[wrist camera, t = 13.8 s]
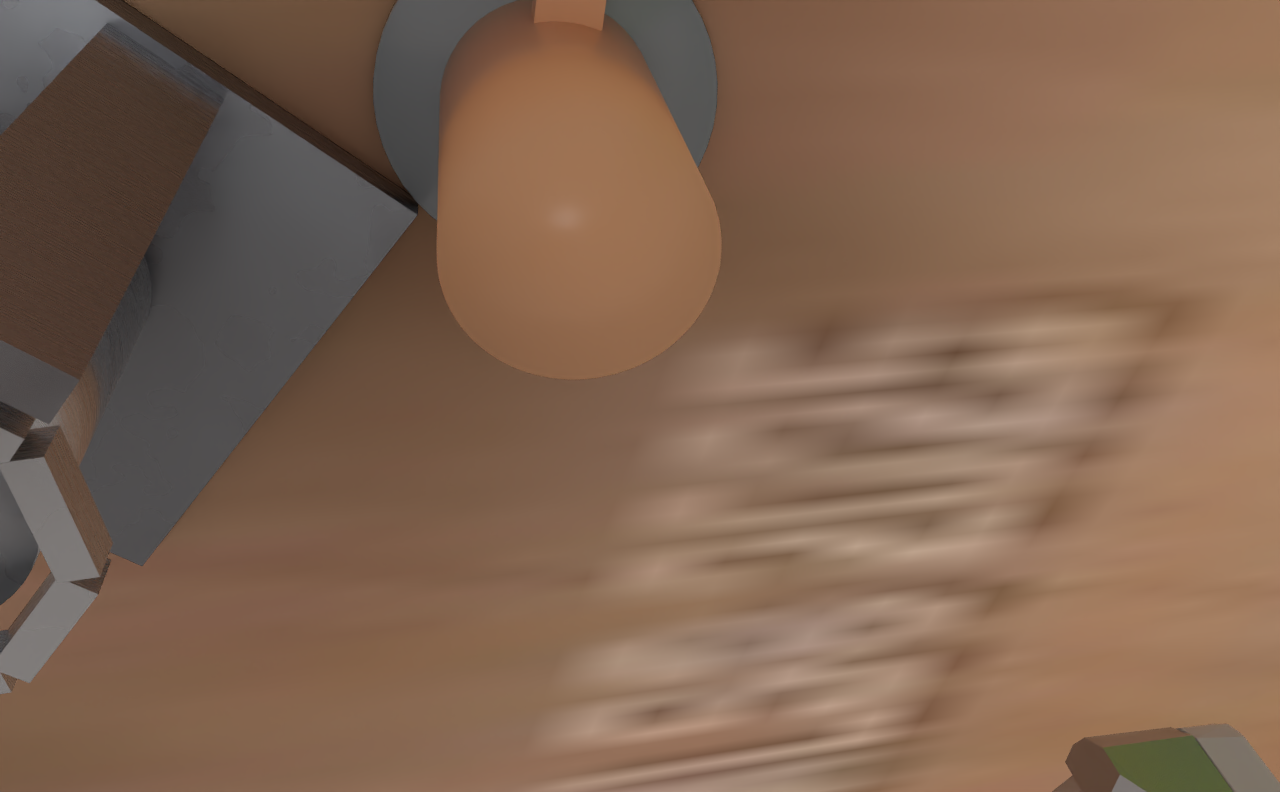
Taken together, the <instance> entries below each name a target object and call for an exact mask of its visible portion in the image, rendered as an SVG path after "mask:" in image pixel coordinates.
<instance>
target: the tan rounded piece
mask: <svg viewBox="0 0 1280 792" xmlns="http://www.w3.org/2000/svg"><path fill="white" fill-rule="evenodd" d="M605 6H606V0H517V1H514V2H511V3H508V4H506V5H503V6H501V7H499V8H497V9H495V10H493V11H491V12H490V13H488V14H487V15H485V16H484V17H483V18H481V19H480V20H478V21H477V22H476V23H475V24H474V25H473V26H472V27H471V28H470V29H469V30H468V31H467V32H466V33H465V34H464V36H463V37H462V38H461V39H460V41H459V42H458V43H457V45H456V47H455V48H454V50H453V52H452V53H451V55H450V58H449V60H448V62H447V65H446V67H445V70H444V74H443V78H442V82H441V89H440V109H439V158H438V207H437V269H438V276H439V282H440V285H441V288H442V292H443V295H444V298H445V300H446V302H447V304H448V306H449V309H450V311H451V313H452V314H453V316H454V317H455V319H456V320H457V322H458V323H459V325H460V326H461V328H462V329H463V330H464V331H465V332H466V333H467V335H468V336H469V337H470V338H471V339H472V340H473V341H474V342H475V343H476V344H478V345H479V346H480V347H481V348H482V349H483V350H484V351H486V352H487V353H489V354H490V355H492V356H493V357H495V358H496V359H498V360H499V361H501V362H503V363H505V364H507V365H509V366H511V367H513V368H516V369H519V370H521V371H524V372H527V373H530V374H534V375H538V376H542V377H547V378H555V379H564V380H583V379H592V378H600V377H605V376H609V375H614V374H617V373H620V372H623V371H626V370H629V369H632V368H634V367H637V366H639V365H641V364H643V363H645V362H647V361H649V360H651V359H652V358H654V357H656V356H657V355H659V354H661V353H662V352H664V351H665V350H666V349H667V348H669V347H670V346H671V345H673V344H674V343H675V342H676V341H677V340H678V339H679V338H680V337H681V336H682V335H683V334H684V333H685V332H686V331H687V330H688V329H689V328H690V327H691V326H692V324H693V323H694V322H695V321H696V319H697V318H698V317H699V315H700V314H701V312H702V311H703V309H704V307H705V306H706V304H707V302H708V300H709V298H710V296H711V293H712V291H713V289H714V287H715V283H716V280H717V276H718V273H719V269H720V262H721V255H722V235H721V228H720V221H719V217H718V214H717V210H716V207H715V204H714V201H713V199H712V197H711V195H710V193H709V190H708V188H707V186H706V184H705V182H704V180H703V178H702V176H701V174H700V172H699V170H698V168H697V166H696V164H695V162H694V160H693V158H692V156H691V153H690V151H689V149H688V147H687V145H686V143H685V141H684V139H683V137H682V135H681V133H680V131H679V129H678V127H677V125H676V123H675V121H674V119H673V117H672V115H671V113H670V111H669V108H668V106H667V104H666V102H665V100H664V98H663V96H662V94H661V92H660V90H659V88H658V86H657V84H656V82H655V80H654V78H653V76H652V74H651V72H650V70H649V68H648V66H647V63H646V61H645V59H644V57H643V55H642V53H641V51H640V50H639V48H638V47H637V45H636V43H635V42H634V40H633V39H632V38H631V37H630V35H629V34H628V33H627V32H626V31H625V29H624V28H622V27H621V26H620V25H619V24H618V23H617V22H616V21H615V20H614V19H612V18H611V17H609V16H608V15H606V14H605Z"/></svg>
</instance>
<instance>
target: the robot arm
mask: <svg viewBox="0 0 1280 792" xmlns="http://www.w3.org/2000/svg"><path fill="white" fill-rule="evenodd" d="M1065 763H1066V764H1067V766H1068V768H1069V770H1070V771H1071V773H1072V776H1071V777H1070V778H1069V779H1067V780H1066V781H1065V782H1064V783H1062V784H1061V785H1060V786H1059V787H1057V788H1056V789H1055V790H1054V791H1052V792H1280V783H1279V782H1278V780H1277V779H1276V778H1275V776H1274V775H1273V774H1272V773H1271V771H1270V770H1269V769H1268V767H1267V766H1266V765H1265V763H1264V762H1263V761H1262V759H1261V758H1260V757H1259V756H1258V754H1257V753H1256V752H1255V750H1254V749H1253V748H1252V746H1251V745H1250V744H1249V742H1248V741H1247V740H1246V739H1245V737H1244V736H1243V735H1242V734H1241V733H1240V732H1239V731H1237V730H1236V729H1234V728H1233V727H1231V726H1230V725H1228V724H1208V725H1200V726H1192V727H1184V728H1176V729H1174V728H1171V727H1169V728H1161V729H1152V730H1144V731H1135V732H1127V733H1119V734H1110V735H1102V736H1094V737H1085V738H1083V739H1081V740H1080V741H1078V742H1077V743H1075V744H1074V745H1073V746H1072V748H1071V750H1070V753H1069V755H1068V757H1067V759H1066V761H1065Z"/></svg>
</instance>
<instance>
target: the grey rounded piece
mask: <svg viewBox="0 0 1280 792" xmlns="http://www.w3.org/2000/svg"><path fill="white" fill-rule="evenodd" d="M514 1H517V0H396V2H395V3H394V5H393V7H392V9H391V11H390V14H389V16H388V18H387V21H386V23H385V25H384V28H383V31H382V35H381V39H380V42H379V46H378V50H377V55H376V62H375V70H374V77H373V102H374V109H375V116H376V123H377V127H378V131H379V134H380V138H381V141H382V145H383V147H384V150H385V152H386V154H387V157H388V159H389V161H390V163H391V166H392V167H393V169H394V171H395V172H396V174H397V176H398V177H399V179H400V181H401V182H402V184H403V185H404V187H405V188H406V189H407V191H408V192H409V193H410V194H411V196H412V197H413V198H414V199H415V201H416V202H417V203H418V204H419V205H420V206H421V207H422V208H423V209H424V210H425V211H426V212H427V213H428V214H429V215H430V216H432V217H433V218H434V219H435V220H437V207H438V158H439V109H440V89H441V82H442V78H443V74H444V70H445V67H446V65H447V62H448V60H449V58H450V55H451V53H452V52H453V50H454V48H455V47H456V45H457V43H458V42H459V41H460V39H461V38H462V37H463V36H464V34H465V33H466V32H467V31H468V30H469V29H470V28H471V27H472V26H473V25H474V24H475V23H476V22H477V21H478V20H480V19H481V18H483V17H484V16H485V15H487V14H488V13H490V12H491V11H493V10H495V9H497V8H499V7H501V6H503V5H506V4H508V3H511V2H514ZM605 14H606V15H608V16H609V17H611V18H612V19H614V20H615V21H616V22H617V23H618V24H619V25H620V26H621V27H622V28H624V29H625V31H626V32H627V33H628V34H629V35H630V37H631V38H632V39H633V40H634V42H635V43H636V45H637V47H638V48H639V50H640V51H641V53H642V55H643V57H644V59H645V61H646V63H647V66H648V68H649V70H650V72H651V74H652V76H653V78H654V80H655V82H656V84H657V86H658V88H659V90H660V92H661V94H662V96H663V98H664V100H665V102H666V104H667V106H668V108H669V111H670V113H671V115H672V117H673V119H674V121H675V123H676V125H677V127H678V129H679V131H680V133H681V135H682V137H683V139H684V141H685V143H686V145H687V147H688V149H689V151H690V153H691V156H692V158H693V160H694V162H695V164H696V166H697V168H698V166H699V164H700V162H701V160H702V158H703V155H704V153H705V151H706V148H707V146H708V143H709V139H710V136H711V132H712V129H713V125H714V119H715V113H716V107H717V74H716V64H715V58H714V54H713V50H712V46H711V41H710V38H709V36H708V33H707V30H706V28H705V25H704V23H703V20H702V18H701V16H700V14H699V12H698V11H697V9H696V7H695V5H694V3H693V1H692V0H606V6H605Z"/></svg>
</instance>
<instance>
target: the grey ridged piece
mask: <svg viewBox="0 0 1280 792" xmlns="http://www.w3.org/2000/svg"><path fill="white" fill-rule="evenodd" d="M417 215H418V203H417V202H416V201H415V199H414V198H413V197H412V196H411V195H410V194H409V193H407V192H406V191H404V190H403V189H401V188H400V187H398V186H397V185H395V184H394V183H392V182H391V181H389V180H388V179H386V178H385V177H383V176H382V175H380V174H379V173H377V172H376V171H374V170H373V169H371V168H370V167H369V166H367V165H366V164H364V163H363V162H361V161H360V160H358V159H357V158H355V157H354V156H352V155H351V154H349V153H348V152H346V151H345V150H343V149H342V148H340V147H339V146H337V145H336V144H334V143H333V142H331V141H330V140H328V139H327V138H325V137H324V136H322V135H321V134H320V133H318V132H317V131H315V130H314V129H312V128H311V127H309V126H308V125H306V124H305V123H303V122H302V121H300V120H299V119H297V118H296V117H294V116H293V115H291V114H290V113H288V112H287V111H285V110H284V109H282V108H281V107H279V106H278V105H276V104H275V103H274V102H272V101H271V100H269V99H268V98H266V97H265V96H263V95H262V94H260V93H259V92H257V91H256V90H254V89H253V88H251V87H250V86H248V85H247V84H245V83H244V82H242V81H241V80H239V79H238V78H236V77H235V76H233V75H232V74H230V73H229V72H227V71H226V70H225V69H223V68H222V67H220V66H219V65H217V64H216V63H214V62H213V61H211V60H210V59H208V58H207V57H205V56H204V55H202V54H201V53H199V52H198V51H196V50H195V49H193V48H192V47H190V46H189V45H187V44H186V43H184V42H183V41H181V40H180V39H178V38H177V37H176V36H174V35H173V34H171V33H170V32H168V31H167V30H165V29H164V28H162V27H161V26H159V25H158V24H156V23H155V22H153V21H152V20H150V19H149V18H147V17H146V16H144V15H143V14H141V13H140V12H138V11H137V10H135V9H134V8H132V7H131V6H130V5H128V4H127V3H125V2H124V1H122V0H0V605H1V604H2V603H4V602H5V601H6V600H7V599H8V598H10V597H11V596H12V595H13V594H14V593H15V592H16V591H17V590H18V589H19V587H20V586H21V585H22V584H23V583H24V581H25V580H26V578H27V576H28V575H29V573H30V571H31V570H32V568H33V565H34V563H35V561H36V559H37V557H38V555H39V552H40V550H41V552H42V554H43V556H44V558H45V560H46V562H47V564H48V566H49V568H50V570H51V573H50V574H49V575H48V577H47V578H46V579H45V581H44V582H43V583H42V585H41V586H40V587H39V589H38V590H37V591H36V593H35V594H34V595H33V597H32V598H31V600H30V601H29V602H28V604H27V605H26V606H25V608H24V609H23V610H22V612H21V613H20V614H19V616H18V617H17V618H16V620H15V621H14V622H13V624H12V625H11V626H10V628H9V629H8V630H3V631H0V694H4V693H10V692H12V690H13V688H14V685H15V683H16V680H17V679H20V680H23V681H25V682H28V683H30V682H31V681H32V679H33V678H34V677H35V676H36V674H37V673H38V672H39V670H40V669H41V668H42V666H43V665H44V664H45V663H46V661H47V660H48V659H49V657H50V656H51V655H52V654H53V652H54V651H55V650H56V648H57V647H58V646H59V644H60V643H61V642H62V641H63V639H64V638H65V637H66V635H67V634H68V633H69V632H70V630H71V629H72V628H73V626H74V625H75V624H76V623H77V621H78V620H79V619H80V617H81V616H82V615H83V613H84V612H85V611H86V610H87V608H88V607H89V606H90V604H91V603H92V602H93V601H94V599H95V598H96V597H97V595H98V594H99V591H100V588H101V586H102V583H103V580H104V578H105V575H106V573H107V570H108V567H109V565H110V562H111V560H110V559H108V558H107V557H108V555H109V552H111V553H113V554H116V555H118V556H120V557H122V558H125V559H127V560H129V561H132V562H134V563H136V564H138V565H141V566H143V564H144V563H145V562H146V561H147V559H148V558H149V557H150V555H151V554H152V553H153V552H154V550H155V549H156V548H157V547H158V545H159V544H160V543H161V541H162V540H163V539H164V538H165V536H166V535H167V534H168V532H169V531H170V530H171V529H172V527H173V526H174V525H175V524H176V522H177V521H178V520H179V518H180V517H181V516H182V515H183V513H184V512H185V511H186V510H187V508H188V507H189V506H190V504H191V503H192V502H193V501H194V499H195V498H196V497H197V496H198V494H199V493H200V492H201V490H202V489H203V488H204V487H205V485H206V484H207V483H208V481H209V480H210V479H211V478H212V476H213V475H214V474H215V473H216V471H217V470H218V469H219V467H220V466H221V465H222V464H223V462H224V461H225V460H226V459H227V457H228V456H229V455H230V453H231V452H232V451H233V450H234V448H235V447H236V446H237V444H238V443H239V442H240V441H241V439H242V438H243V437H244V436H245V434H246V433H247V432H248V430H249V429H250V428H251V427H252V425H253V424H254V423H255V422H256V420H257V419H258V418H259V416H260V415H261V414H262V413H263V411H264V410H265V409H266V408H267V406H268V405H269V404H270V402H271V401H272V400H273V399H274V397H275V396H276V395H277V393H278V392H279V391H280V390H281V388H282V387H283V386H284V385H285V383H286V382H287V381H288V379H289V378H290V377H291V376H292V374H293V373H294V372H295V371H296V369H297V368H298V367H299V365H300V364H301V363H302V362H303V360H304V359H305V358H306V357H307V355H308V354H309V353H310V351H311V350H312V349H313V348H314V346H315V345H316V344H317V342H318V341H319V340H320V339H321V337H322V336H323V335H324V334H325V332H326V331H327V330H328V328H329V327H330V326H331V325H332V323H333V322H334V321H335V320H336V318H337V317H338V316H339V314H340V313H341V312H342V311H343V309H344V308H345V307H346V305H347V304H348V303H349V302H350V300H351V299H352V298H353V297H354V295H355V294H356V293H357V291H358V290H359V289H360V288H361V286H362V285H363V284H364V283H365V281H366V280H367V279H368V277H369V276H370V275H371V274H372V272H373V271H374V270H375V269H376V267H377V266H378V265H379V263H380V262H381V261H382V260H383V258H384V257H385V256H386V254H387V253H388V252H389V251H390V249H391V248H392V247H393V246H394V244H395V243H396V242H397V240H398V239H399V238H400V237H401V235H402V234H403V233H404V232H405V230H406V229H407V228H408V226H409V225H410V224H411V223H412V221H413V220H414V219H415V217H416V216H417Z"/></svg>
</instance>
